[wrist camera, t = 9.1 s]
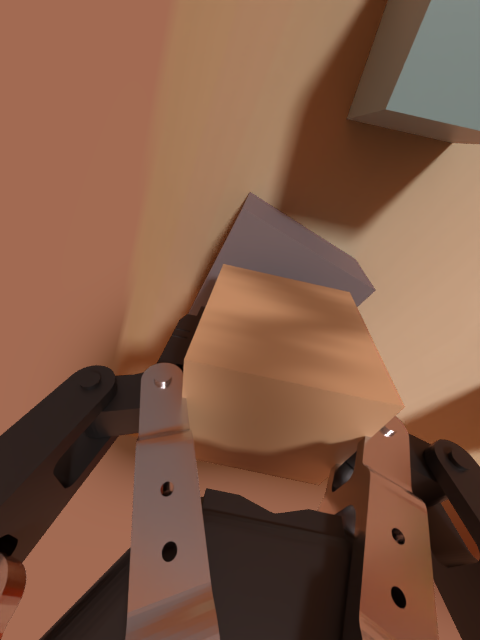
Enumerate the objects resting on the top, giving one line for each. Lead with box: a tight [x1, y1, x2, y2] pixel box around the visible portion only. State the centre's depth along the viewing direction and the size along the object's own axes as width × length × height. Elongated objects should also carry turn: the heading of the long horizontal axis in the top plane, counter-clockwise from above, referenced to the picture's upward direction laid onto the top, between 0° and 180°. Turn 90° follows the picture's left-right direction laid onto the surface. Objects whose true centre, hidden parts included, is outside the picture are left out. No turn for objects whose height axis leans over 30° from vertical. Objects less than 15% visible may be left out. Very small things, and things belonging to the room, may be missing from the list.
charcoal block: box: [188, 192, 375, 316], centre depth 15 cm, size 8×8×4 cm
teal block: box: [347, 0, 480, 144], centre depth 8 cm, size 5×5×5 cm
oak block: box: [182, 264, 405, 485], centre depth 10 cm, size 6×6×6 cm
